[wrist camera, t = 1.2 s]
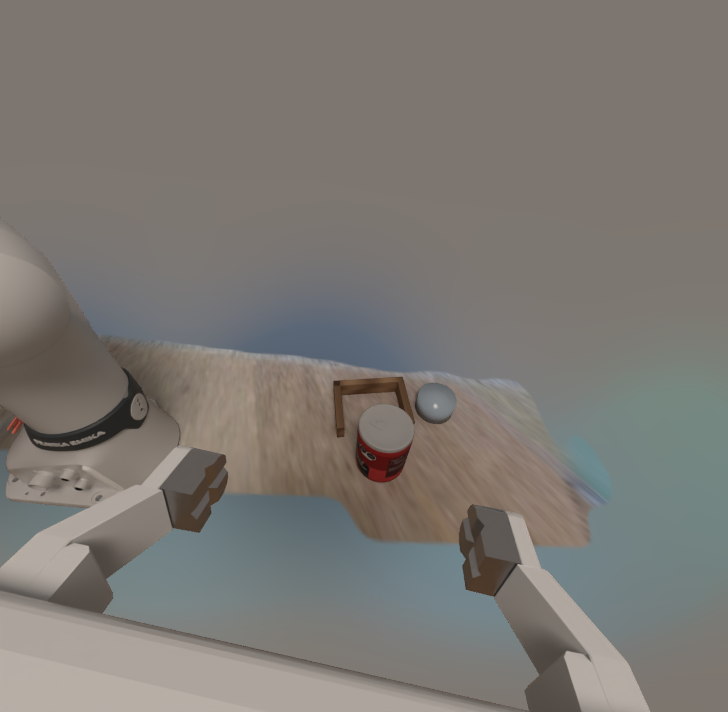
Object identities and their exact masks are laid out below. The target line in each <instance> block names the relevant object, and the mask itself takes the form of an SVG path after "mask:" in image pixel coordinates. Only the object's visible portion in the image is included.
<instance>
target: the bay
mask: <svg viewBox="0 0 728 712" xmlns="http://www.w3.org/2000/svg"><path fill="white" fill-rule="evenodd" d="M381 392H396V395H397V399H398V403H399V407H400V408H401V409H402V410H404V411H405V412H406V413H407V414H408V415H409V416H410V418H411V419H412V421H413V424H414V423H415V421H414V417H413V413H412V410H411V406H410V402H409V399H408V395H407V391H406V388H405V384H404V380H403V377H390V378H374V379H358V380H341V381H334V401H335V415H336V428H337V437H344V420H343V409H342V398H341V395H351V394H366V393H381Z"/></svg>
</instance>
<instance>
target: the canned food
mask: <svg viewBox="0 0 728 712" xmlns="http://www.w3.org/2000/svg"><path fill="white" fill-rule="evenodd" d="M413 437H414V424H413V421H412V419H411V418H410V416H409V415H408V414H407V413H406V412H405V411H404V410H402V409H401V408H399V407H397V406H394V405H390V404H377V405H374V406H371V407H369V408H368V409H366V410H365V411H364V412H363V414H362V415H361V417H360V421H359V425H358V437H357V450H356V462H357V465H358V468H359V469H360V471H361V472H362V473H363V474H364V476H366V477H367V478H368V479H370V480H372V481H376V482H388V481H391V480H393V479H394V478H396V477H397V476H398V475H399V474H400V473H401V471H402V469H403V467H404V464H405V461H406V458H407V455H408V453H409V450H410V447H411V444H412V441H413Z"/></svg>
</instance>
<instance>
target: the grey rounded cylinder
mask: <svg viewBox="0 0 728 712" xmlns="http://www.w3.org/2000/svg"><path fill="white" fill-rule="evenodd" d="M455 406H456V396H455V394H454V393H453V392H452V390H451V389H449V388H448V387H447V386H445V385H442V384H439V383H428V384H425V385H424V386H422V387H421V389H420V390H419V393H418V396H417V400H416V403H415V409H416V412H417V414H418V415H419V416H420V417H421V418H422V419H423V420H425V421H426V422H429V423H432V424H442V423H444V422H446V421H448V420H449V419H450V417H451V415H452V413H453V411H454V408H455Z"/></svg>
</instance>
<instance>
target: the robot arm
mask: <svg viewBox="0 0 728 712" xmlns="http://www.w3.org/2000/svg"><path fill="white" fill-rule="evenodd" d="M0 405H1V406H2V407H3V408H5V409H6V410H7V411H9V412H10V413H12V414H13V415H14V416H16V417H15V418H14V419H13V421H12V422H11V424H10V425H9V427H8V428H7V430H10V429H11V428H12V427H13V426H14V427H13V431H12V434H15V433H16V432H17V431H18V429H19V428H20V426H21V425H22V424H23V423H24V428H23V429H22V430H21V431H20V433H19V434H18V436H17V437H16V439H15V440H14V442H13V444H12V445H11V447H10V449H9V451H8V454H7V458H6V468H7V470H8V471H9V472H10V475H9V478H8V481H7V485H6V497H7V498H8V499H10V500H11V501H15V502H25V503H36V504H46V505H47V504H48V505H58V506H68V507H80V508H87V509H85V510H83V511H81V512H79V513H78V514H75V515H73V516H71V517H69V518H67V519H65V520H63V521H61V522H59V523H57V524H55V525H53V526H51V527H49V528H47V529H45V530H43V531H41V532H39V533H37V534H36V535H35V536H34V537H33V538H32V539H31V540H30V541H29V542H28V543H26V544H25V545H24V546H23V547H22V548H21V549H20V550H19V551H18V552H17V553H16V554H15V555H14V556H13V557H11V558H10V559H9V560H8V561H7V562H6V563H5V564H4V565H3V566H2V567H1V568H0V712H650V710H649V708H648V706H647V704H646V701H645V700H644V697H643V695H642V693H641V691H640V688H639V686H638V684H637V682H636V680H635V678H634V675H633V673H632V671H631V669H630V667H629V664H628V663H627V662H626V660H625V659H624V658H623V657H622V656H621V655H620V653H619V652H618V651H617V650H616V649H615V648H614V647H613V645H612V644H611V643H610V642H609V641H608V640H607V639H606V637H605V636H604V635H603V634H602V633H601V632H600V631H599V630H598V628H597V627H596V626H595V625H594V624H593V623H592V621H591V620H590V619H589V618H588V617H587V616H586V615H585V614H584V612H583V611H582V610H581V609H580V608H579V607H578V605H577V604H576V603H575V602H574V601H573V600H572V599H571V597H570V596H569V595H568V594H567V593H566V592H565V591H564V589H563V588H562V587H561V586H560V585H559V584H558V583H557V581H556V580H555V579H554V578H553V577H552V576H551V575H550V574H549V572H547V570H544V569H541V566H540V563H539V560H538V557H537V555H536V552H535V549H534V546H533V543H532V541H531V538H530V535H529V532H528V529H527V527H526V524H525V521H524V518H523V517H522V515H521V514H518V513H513V512H508V511H503V510H500V509H495V508H489V507H484V506H479V505H473V504H472V505H471V506H470V507H469V509H468V511H467V513H468V518H466V519H464V520H463V521H462V524H461V526H460V532H459V545H460V551H461V553H462V554H463V555H464V557H465V558H466V560H465V562H464V564H463V573H464V580H465V587H466V590H469V591H473V592H478V593H482V594H486V595H489V596H494V599H495V601H496V603H497V604H498V606H499V608H500V609H501V611H502V613H503V614H504V616H505V618H506V619H507V621H508V623H509V624H510V626H511V628H512V629H513V631H514V633H515V634H516V636H517V638H518V639H519V641H520V643H521V644H522V646H523V648H524V649H525V651H526V653H527V654H528V656H529V658H530V659H531V661H532V663H533V664H534V666H535V668H536V669H537V671H538V673H539V674H540V675H539V676H538V677H537V678H536V679H535V680H534V681H533V682H532V683H531V684H530V685H528V687H527V688H526V689H525V694H526V699H527V704H528V708H529V711H526V710H522V709H517V708H513V707H509V706H504V705H500V704H496V703H491V702H487V701H483V700H478V699H473V698H469V697H465V696H460V695H456V694H451V693H447V692H443V691H439V690H434V689H429V688H426V687H421V686H417V685H412V684H408V683H403V682H399V681H395V680H390V679H386V678H382V677H377V676H372V675H369V674H364V673H360V672H355V671H351V670H347V669H342V668H338V667H333V666H329V665H324V664H320V663H316V662H312V661H307V660H303V659H298V658H294V657H290V656H285V655H281V654H276V653H272V652H268V651H263V650H259V649H254V648H250V647H246V646H241V645H237V644H232V643H228V642H223V641H219V640H215V639H210V638H206V637H201V636H197V635H193V634H189V633H184V632H179V631H175V630H171V629H166V628H162V627H158V626H153V625H149V624H145V623H140V622H136V621H132V620H127V619H123V618H118V617H114V616H110V615H105V614H102V613H103V612H104V610H105V609H106V607H107V606H108V605H109V603H110V602H111V600H112V599H113V592H112V590H111V588H110V586H109V584H108V582H107V581H106V578H108V577H109V576H111V575H112V574H113V573H115V572H116V571H117V570H119V569H120V568H122V567H123V566H124V565H126V564H127V563H128V562H130V561H131V560H132V559H134V558H135V557H136V556H138V555H139V554H140V553H142V552H143V551H144V550H146V549H147V548H148V547H150V546H151V545H153V544H154V543H155V542H157V541H158V540H159V539H160V538H162V537H163V536H165V535H166V534H167V533H169V532H170V531H172V529H173V528H176V529H181V530H187V531H192V532H198V533H199V532H200V531H201V529H202V528H203V526H204V524H205V523H206V521H207V520H208V518H209V516H210V515H211V505H213V504H214V503H216V502H218V501H219V499H220V498H221V496H222V495H223V493H224V490H225V488H226V485H227V480H228V472H227V470H226V469H225V468H224V465H225V464H226V456H225V455H223V454H218V453H214V452H210V451H205V450H201V449H197V448H192V447H187V446H183V445H179V446H177V445H178V442H179V436H180V433H179V427H178V425H177V423H176V421H175V420H174V419H173V418H172V417H171V416H169V415H168V414H166V413H165V412H164V411H162V410H161V409H160V407H159V405H158V404H157V403H156V402H155V401H154V400H153V399H151V398H148V397H147V396H146V395H145V394H144V393H143V391H142V389H141V387H140V386H139V385H138V383H137V382H136V381H135V379H134V377H133V376H132V375H131V374H130V373H129V372H128V371H127V370H126V369H124V368H122V367H120V366H119V364H118V363H117V362H116V360H115V359H114V358H113V356H112V355H111V354H110V352H109V351H108V350H107V348H106V347H105V346H104V344H103V343H102V342H101V340H100V339H99V338H98V336H97V335H96V333H95V332H94V331H93V329H92V327H91V326H90V324H89V322H88V320H87V318H86V317H85V315H84V313H83V312H82V310H81V308H80V307H79V305H78V304H77V302H76V300H75V299H74V297H73V296H72V294H71V293H70V291H69V290H68V288H67V287H66V285H65V284H64V282H63V281H62V279H61V278H60V277H59V275H58V274H57V272H56V270H55V269H54V267H53V266H52V265H51V263H50V262H49V260H48V259H47V258H46V257H45V256H44V255H43V253H41V252H40V251H39V250H38V249H37V248H36V247H35V246H33V245H32V244H31V243H30V242H29V241H28V240H27V239H26V238H24V237H23V236H22V235H21V234H20V233H19V232H17V231H16V230H15V229H14V228H13V227H12V226H11V225H9V224H8V223H6V222H5V221H4V220H2V219H1V218H0ZM17 480H18V481H17ZM101 497H102V499H101V500H100V501H98V500H99V499H100V498H101Z"/></svg>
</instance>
